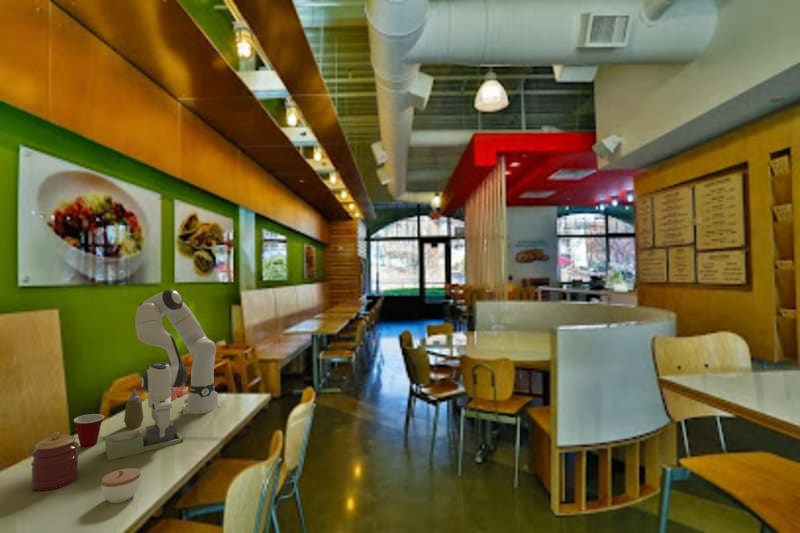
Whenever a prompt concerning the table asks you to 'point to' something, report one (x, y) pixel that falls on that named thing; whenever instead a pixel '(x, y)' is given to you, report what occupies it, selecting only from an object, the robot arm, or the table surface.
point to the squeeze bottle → (133, 411)
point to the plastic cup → (88, 429)
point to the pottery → (178, 392)
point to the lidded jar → (120, 484)
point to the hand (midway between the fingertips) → (160, 433)
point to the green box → (132, 444)
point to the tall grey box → (153, 434)
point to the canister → (54, 462)
